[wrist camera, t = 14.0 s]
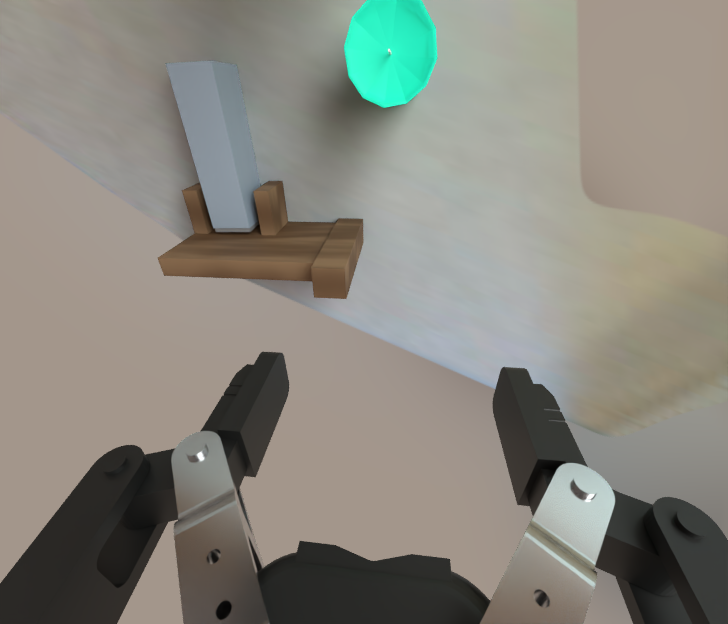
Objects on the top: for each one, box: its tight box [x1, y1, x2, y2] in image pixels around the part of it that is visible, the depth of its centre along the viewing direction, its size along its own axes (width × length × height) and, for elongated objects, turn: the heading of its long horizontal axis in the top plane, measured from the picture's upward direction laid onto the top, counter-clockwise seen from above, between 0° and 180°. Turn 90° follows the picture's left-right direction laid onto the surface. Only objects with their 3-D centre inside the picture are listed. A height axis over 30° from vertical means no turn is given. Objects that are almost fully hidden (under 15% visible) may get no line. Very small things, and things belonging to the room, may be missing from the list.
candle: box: [344, 0, 437, 108], centre depth 25 cm, size 6×6×12 cm
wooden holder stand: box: [158, 181, 363, 299], centre depth 33 cm, size 7×18×13 cm, turn 91°
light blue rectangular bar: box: [165, 60, 261, 232], centre depth 34 cm, size 14×4×5 cm, turn 2°
